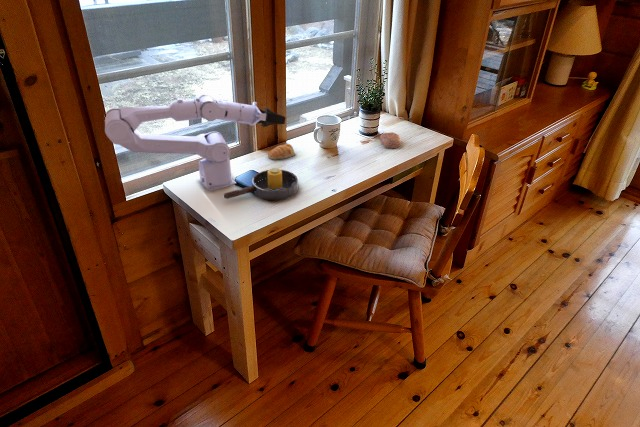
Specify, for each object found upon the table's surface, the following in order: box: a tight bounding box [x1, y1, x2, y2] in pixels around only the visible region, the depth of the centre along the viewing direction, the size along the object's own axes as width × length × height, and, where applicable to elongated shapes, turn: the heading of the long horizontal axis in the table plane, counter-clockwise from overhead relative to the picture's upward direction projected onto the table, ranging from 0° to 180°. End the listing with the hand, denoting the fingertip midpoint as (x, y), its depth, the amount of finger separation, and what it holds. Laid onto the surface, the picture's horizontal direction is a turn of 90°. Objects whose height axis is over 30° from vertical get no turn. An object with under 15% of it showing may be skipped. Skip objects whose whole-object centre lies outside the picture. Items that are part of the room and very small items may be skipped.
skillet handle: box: [223, 185, 256, 200], centre depth 141 cm, size 11×2×2 cm, turn 122°
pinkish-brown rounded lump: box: [379, 132, 402, 149], centre depth 177 cm, size 8×6×8 cm
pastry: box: [267, 143, 296, 161], centre depth 167 cm, size 9×7×4 cm
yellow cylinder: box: [267, 167, 282, 191], centre depth 146 cm, size 4×4×7 cm
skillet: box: [251, 169, 299, 202], centre depth 147 cm, size 14×14×4 cm
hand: (280, 119), depth 148 cm, fingers open, 7 cm apart
